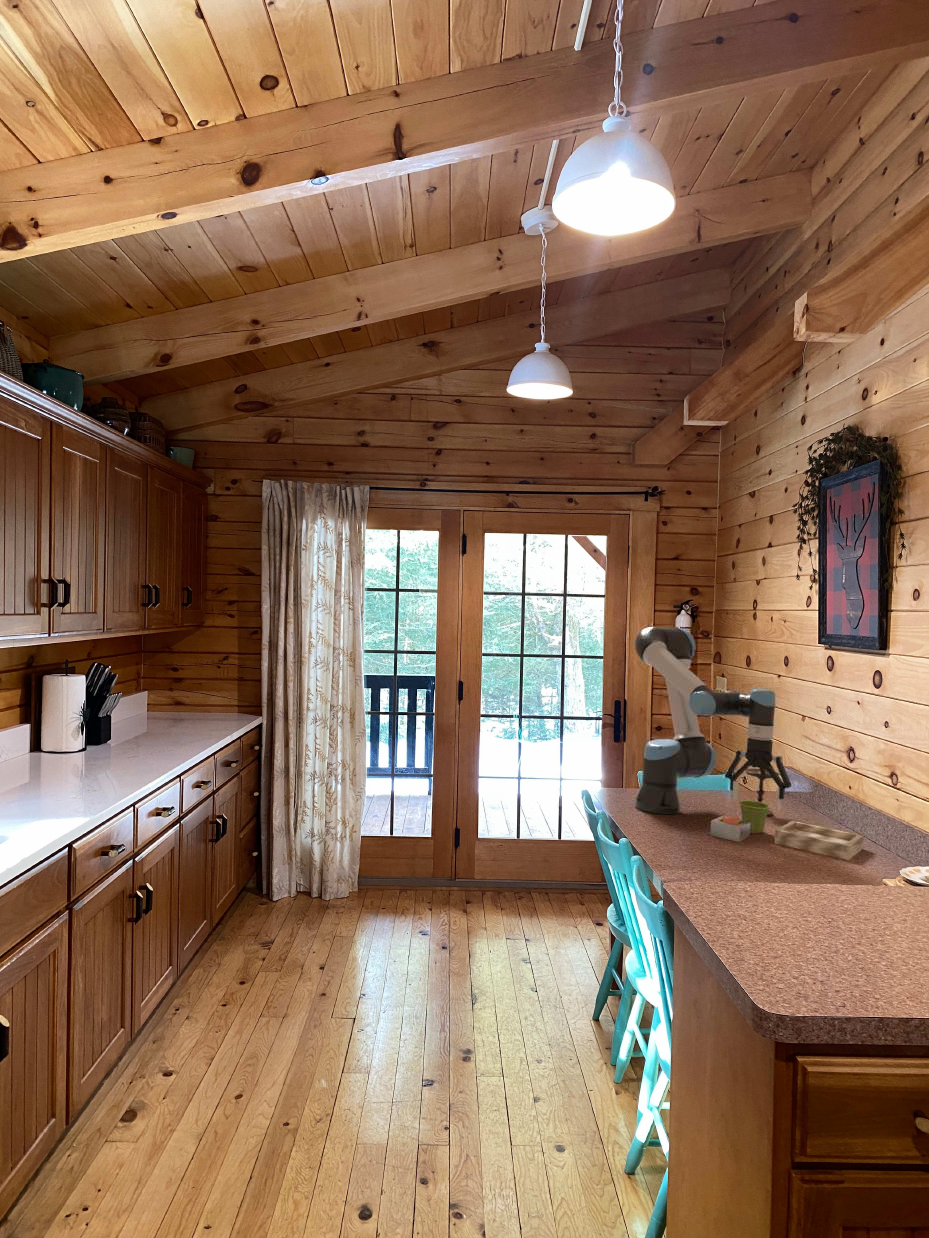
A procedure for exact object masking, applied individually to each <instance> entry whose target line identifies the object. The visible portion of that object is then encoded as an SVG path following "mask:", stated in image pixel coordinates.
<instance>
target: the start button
mask: <svg viewBox="0 0 929 1238" xmlns="http://www.w3.org/2000/svg"><path fill="white" fill-rule="evenodd" d="M722 816H723V820H722V822H725V823H730V824H734V825H739V822H740V820H741V819H740V817H737V816H734V815H722Z"/></svg>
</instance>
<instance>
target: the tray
mask: <svg viewBox="0 0 929 1238" xmlns="http://www.w3.org/2000/svg"><path fill="white" fill-rule="evenodd" d="M774 844H777V845H782V846H786V847H790V848H793V849H794V848H795V849H799V850H803V851H807V852H811V853H815V854H819V855H824V856H828V857H834V858H838V859H843V860H845V861H849V860H852V858H854V856H856V855H857V854H858V853H859V852H861V851H863V849H864V835H863V834H862V835H861V834H858V833H857V834H856V833H852V832H848V831H842V830H838V829H834V828H828V827H825V826H824V827H823V826H819V825H815V824H809V823H805V822H800V821H797V820H796V821H795V820H791V821H790V822H788V823H786V824H783V825H782V826H781V827H778V828H777V829H775V834H774Z"/></svg>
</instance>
